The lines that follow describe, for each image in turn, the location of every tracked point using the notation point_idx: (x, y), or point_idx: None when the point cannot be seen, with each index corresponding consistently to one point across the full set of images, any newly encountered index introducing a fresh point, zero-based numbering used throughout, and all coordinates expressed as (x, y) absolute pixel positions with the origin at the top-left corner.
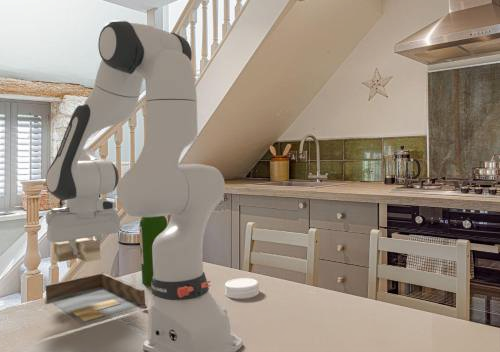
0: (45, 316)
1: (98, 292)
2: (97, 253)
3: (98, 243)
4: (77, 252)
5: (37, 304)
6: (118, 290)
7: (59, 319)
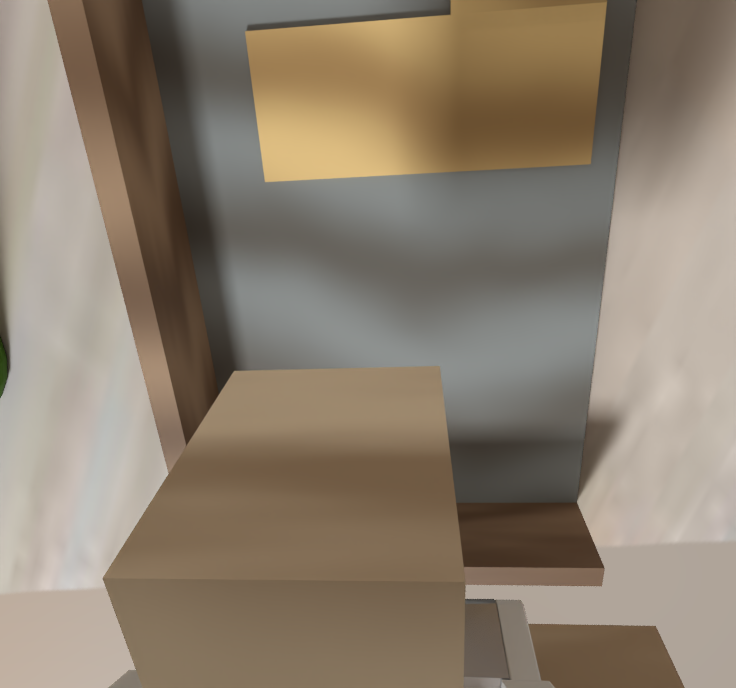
0: (715, 240)
1: None
2: (249, 420)
3: (147, 549)
4: (496, 625)
5: (634, 486)
6: (186, 286)
7: (688, 100)
